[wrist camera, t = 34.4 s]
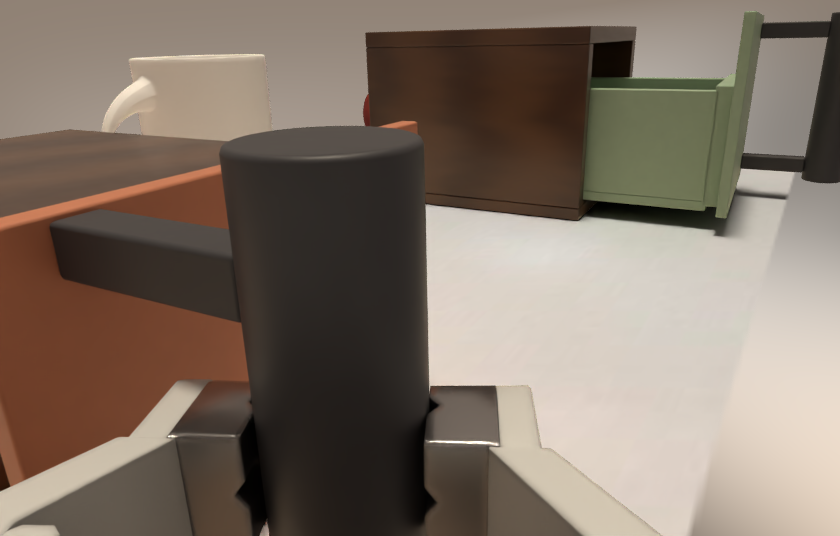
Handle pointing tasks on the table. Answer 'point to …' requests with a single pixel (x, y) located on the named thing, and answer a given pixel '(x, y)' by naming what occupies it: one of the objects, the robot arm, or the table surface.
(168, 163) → the cubby low
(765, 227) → the table surface
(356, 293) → the orange drawer
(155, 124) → the mug
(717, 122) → the green drawer
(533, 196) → the wooden drawer cabinet
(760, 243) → the table surface
